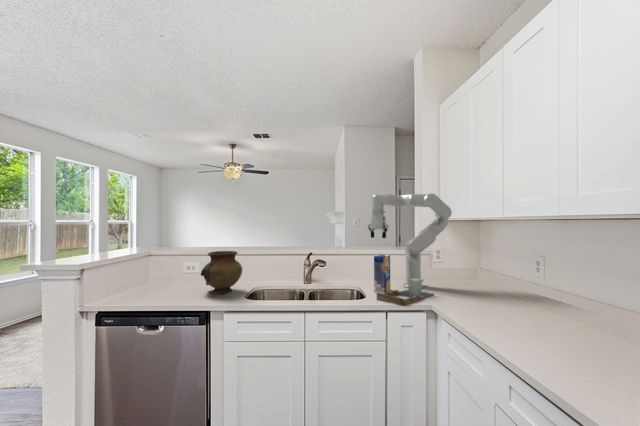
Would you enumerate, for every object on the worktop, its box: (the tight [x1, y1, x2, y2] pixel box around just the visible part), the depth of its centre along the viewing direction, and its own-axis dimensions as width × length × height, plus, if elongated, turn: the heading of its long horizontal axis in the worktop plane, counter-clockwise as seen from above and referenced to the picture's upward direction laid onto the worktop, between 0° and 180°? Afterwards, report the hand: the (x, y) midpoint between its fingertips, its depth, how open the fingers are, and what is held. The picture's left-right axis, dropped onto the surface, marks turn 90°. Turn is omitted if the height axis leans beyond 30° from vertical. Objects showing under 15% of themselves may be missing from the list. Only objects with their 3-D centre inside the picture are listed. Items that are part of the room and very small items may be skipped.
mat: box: [398, 289, 435, 300], centre depth 181 cm, size 14×16×1 cm
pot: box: [200, 250, 243, 295], centre depth 189 cm, size 25×24×25 cm
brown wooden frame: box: [376, 289, 422, 306], centre depth 169 cm, size 19×16×4 cm
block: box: [408, 278, 423, 295], centre depth 181 cm, size 6×5×8 cm
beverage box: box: [373, 254, 391, 294], centre depth 190 cm, size 7×11×22 cm, turn 150°
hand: (378, 237), depth 207 cm, fingers open, 9 cm apart
